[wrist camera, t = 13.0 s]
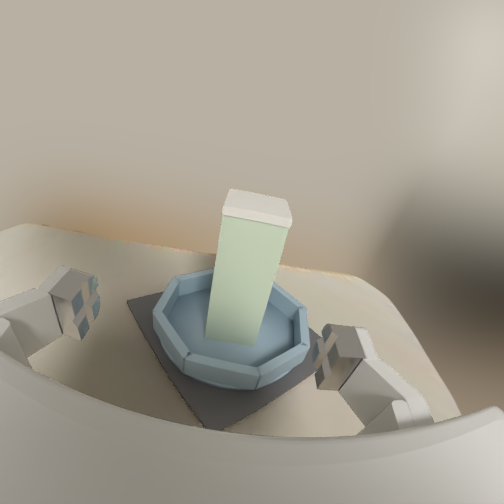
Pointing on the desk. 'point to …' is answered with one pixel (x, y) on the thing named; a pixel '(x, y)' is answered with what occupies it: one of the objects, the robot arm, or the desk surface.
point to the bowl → (222, 353)
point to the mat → (211, 398)
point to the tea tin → (246, 265)
